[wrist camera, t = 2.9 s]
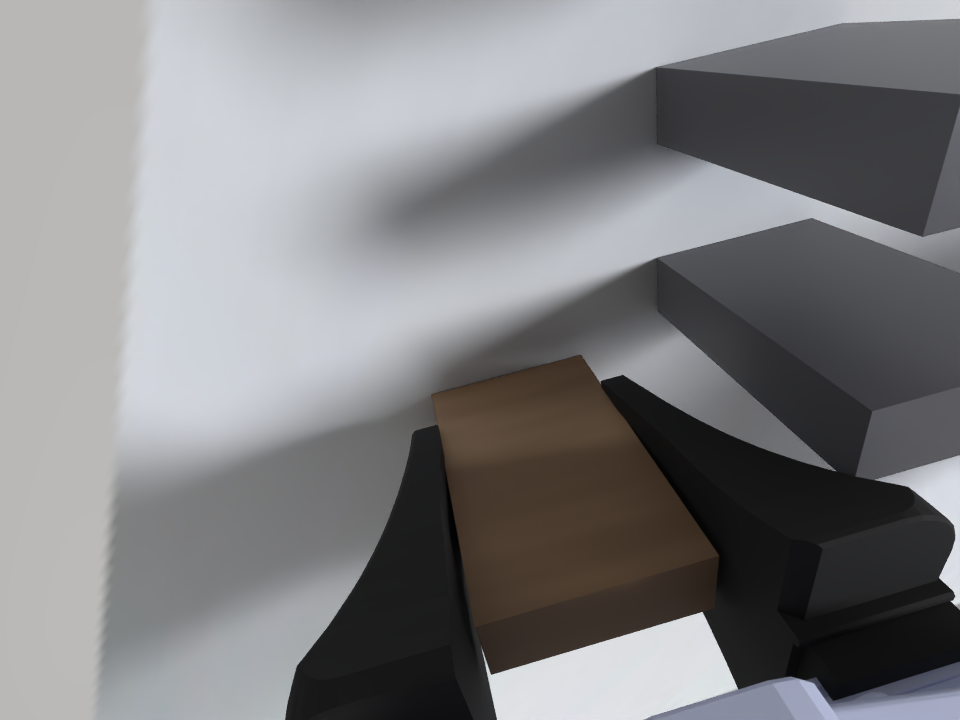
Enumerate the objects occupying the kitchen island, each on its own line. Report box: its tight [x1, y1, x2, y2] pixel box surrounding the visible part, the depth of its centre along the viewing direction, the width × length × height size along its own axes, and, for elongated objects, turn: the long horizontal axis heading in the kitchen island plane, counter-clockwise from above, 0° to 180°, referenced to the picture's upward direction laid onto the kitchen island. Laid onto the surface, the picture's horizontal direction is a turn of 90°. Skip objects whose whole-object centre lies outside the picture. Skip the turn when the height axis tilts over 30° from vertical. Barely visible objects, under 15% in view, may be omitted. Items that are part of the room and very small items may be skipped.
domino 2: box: [656, 19, 960, 237], centre depth 9 cm, size 2×4×7 cm, turn 100°
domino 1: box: [432, 355, 719, 675], centre depth 12 cm, size 2×4×7 cm, turn 101°
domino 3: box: [657, 218, 960, 480], centre depth 11 cm, size 2×4×7 cm, turn 101°
